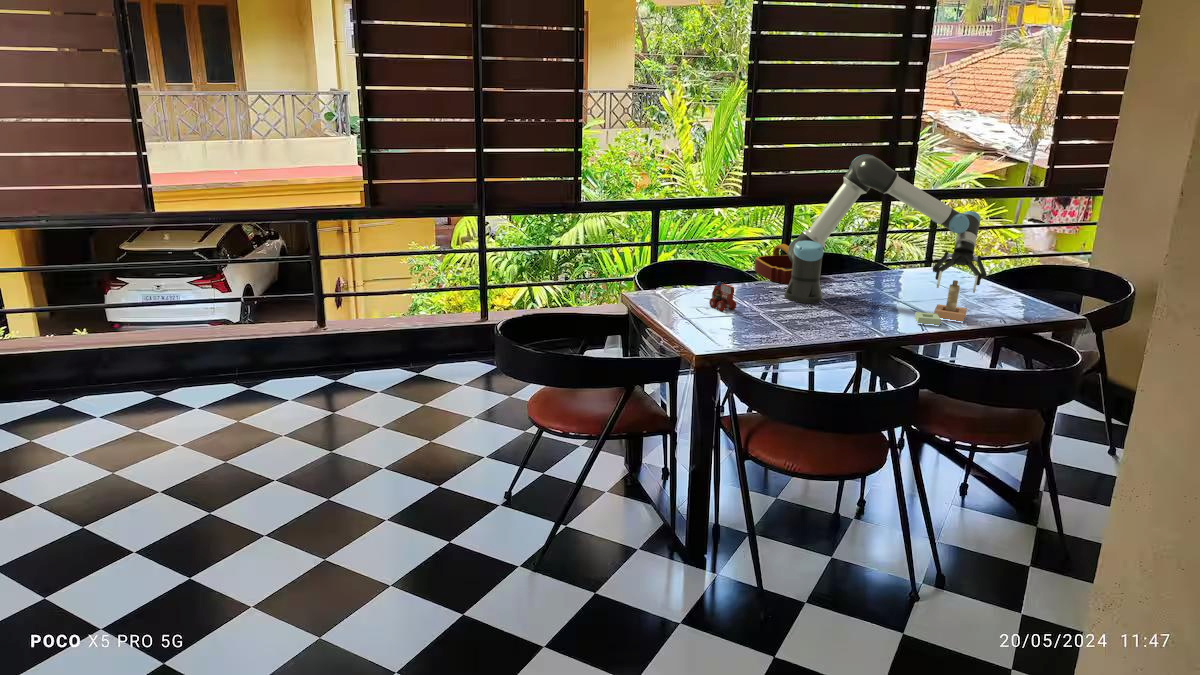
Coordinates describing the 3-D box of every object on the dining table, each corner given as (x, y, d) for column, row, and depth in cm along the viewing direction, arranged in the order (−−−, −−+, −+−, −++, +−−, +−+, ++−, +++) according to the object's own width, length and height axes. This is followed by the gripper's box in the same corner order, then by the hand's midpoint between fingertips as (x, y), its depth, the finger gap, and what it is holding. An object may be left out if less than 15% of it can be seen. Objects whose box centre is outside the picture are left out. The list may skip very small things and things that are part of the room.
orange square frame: (933, 319, 329) (934, 310, 328) (935, 312, 338) (937, 304, 337) (963, 323, 324) (964, 314, 323) (965, 316, 334) (966, 308, 333)
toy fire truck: (720, 303, 339) (722, 278, 336) (738, 311, 329) (740, 286, 326) (705, 305, 336) (707, 280, 333) (723, 313, 326) (726, 287, 323)
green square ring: (917, 325, 320) (918, 317, 319) (914, 319, 328) (915, 311, 327) (939, 327, 319) (940, 319, 318) (935, 321, 326) (937, 313, 325)
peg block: (944, 318, 331) (950, 281, 326) (945, 316, 334) (951, 279, 329) (953, 319, 329) (960, 282, 325) (954, 317, 332) (960, 280, 328)
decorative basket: (747, 271, 407) (745, 241, 402) (806, 263, 409) (805, 233, 404) (766, 290, 375) (764, 257, 370) (830, 281, 377) (829, 249, 372)
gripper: (997, 254, 343) (988, 298, 335) (932, 247, 354) (922, 289, 346) (999, 243, 337) (990, 287, 329) (933, 236, 348) (923, 279, 339)
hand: (955, 288), depth 337 cm, fingers open, 13 cm apart
